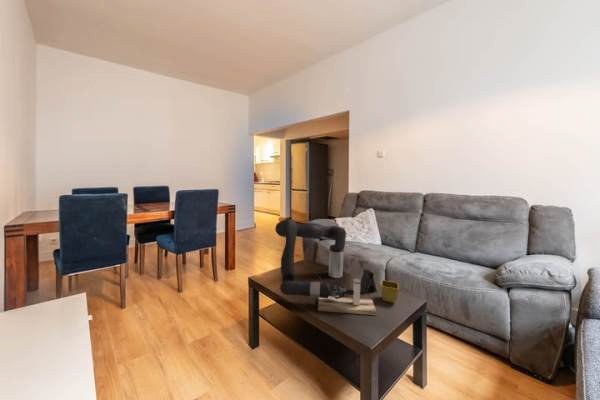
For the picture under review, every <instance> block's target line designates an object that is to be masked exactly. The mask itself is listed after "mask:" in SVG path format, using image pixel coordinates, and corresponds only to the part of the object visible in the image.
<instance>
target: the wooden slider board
mask: <svg viewBox="0 0 600 400" xmlns="http://www.w3.org/2000/svg"><path fill="white" fill-rule="evenodd" d="M317 306H318V307H317V311H318V312H332V313H345V314H355V315H367V316H369V315H370V316H377V309H376V306H375V304H374V301H373V299H372V298H371V299H370V298H369V299H368V298H360V303H359V305H353V297H342V298H338V299H335V296H330V295H329V296H328V298H319V297H318V303H317Z"/></svg>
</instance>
